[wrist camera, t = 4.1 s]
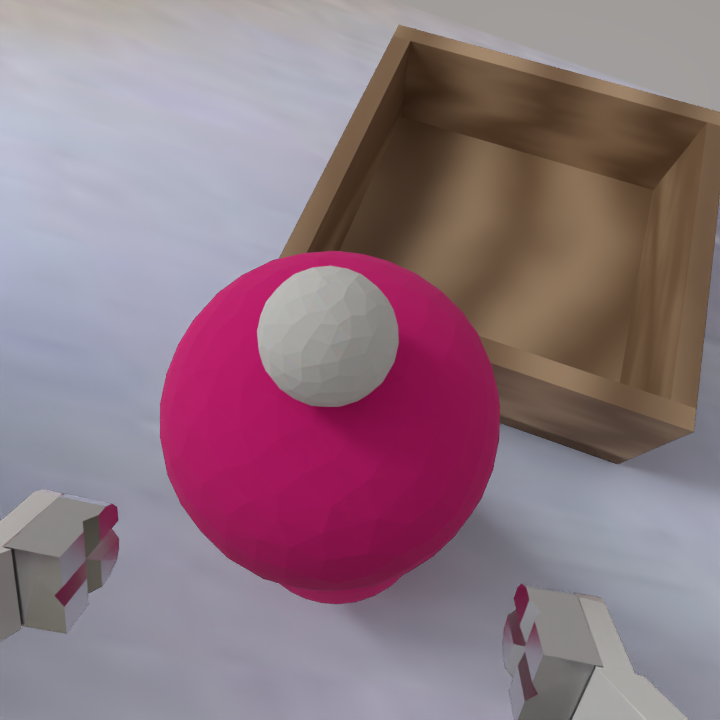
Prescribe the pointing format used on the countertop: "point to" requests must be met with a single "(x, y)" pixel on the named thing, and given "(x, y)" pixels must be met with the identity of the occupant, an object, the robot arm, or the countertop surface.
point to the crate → (539, 230)
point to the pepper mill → (330, 423)
